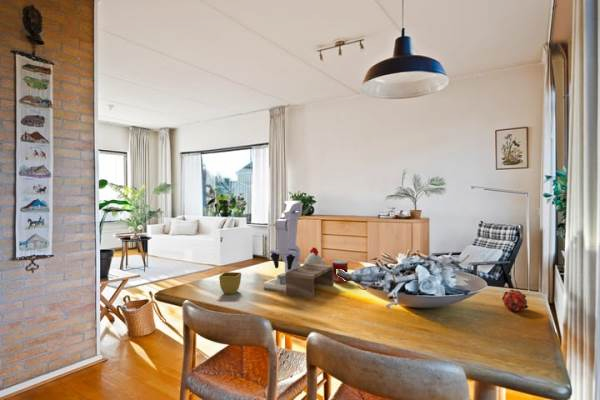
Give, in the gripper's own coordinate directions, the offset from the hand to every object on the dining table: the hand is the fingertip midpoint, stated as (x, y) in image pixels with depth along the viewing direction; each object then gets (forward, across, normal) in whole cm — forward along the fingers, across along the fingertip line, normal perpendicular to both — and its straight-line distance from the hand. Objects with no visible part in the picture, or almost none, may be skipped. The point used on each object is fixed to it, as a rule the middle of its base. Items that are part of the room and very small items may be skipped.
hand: (283, 268), depth 175 cm
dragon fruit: (+9, +102, +12) cm, 103 cm away
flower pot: (+9, -17, -21) cm, 29 cm away
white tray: (+9, 0, 0) cm, 9 cm away
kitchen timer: (+9, +1, +34) cm, 35 cm away
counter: (+9, +16, 0) cm, 18 cm away
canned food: (+9, +23, +21) cm, 32 cm away
